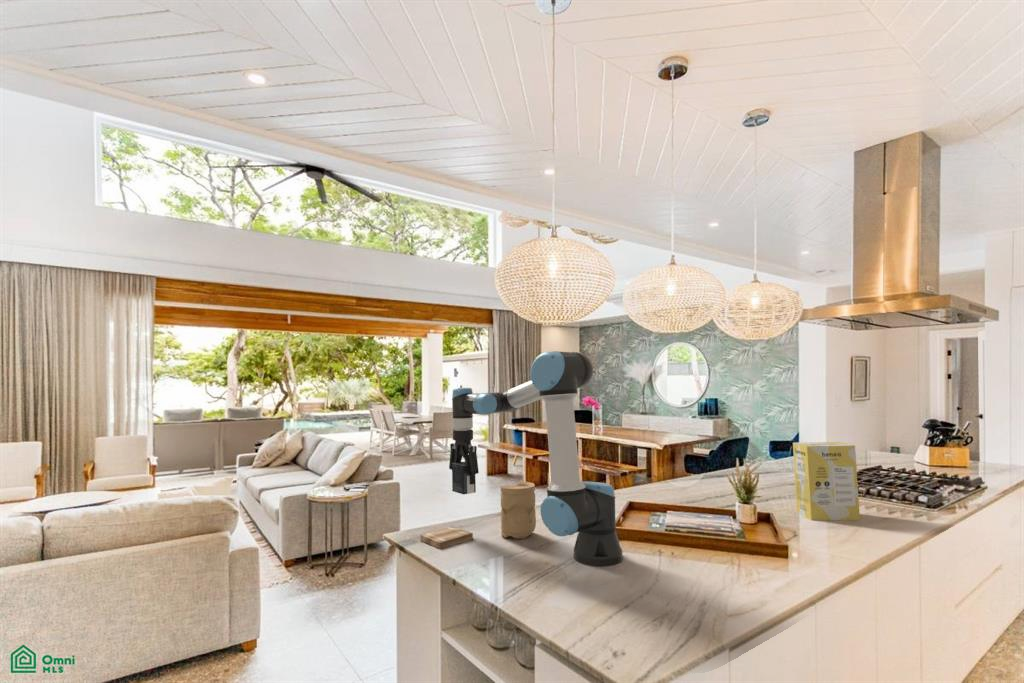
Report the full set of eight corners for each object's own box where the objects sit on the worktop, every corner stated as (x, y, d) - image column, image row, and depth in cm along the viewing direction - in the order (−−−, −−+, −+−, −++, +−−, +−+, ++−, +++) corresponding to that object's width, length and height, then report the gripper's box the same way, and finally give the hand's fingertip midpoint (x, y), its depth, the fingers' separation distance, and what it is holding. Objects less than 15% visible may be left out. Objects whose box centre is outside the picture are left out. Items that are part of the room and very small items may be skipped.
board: (472, 539, 179) (472, 532, 179) (440, 548, 169) (439, 542, 169) (452, 531, 187) (452, 526, 188) (420, 540, 178) (420, 534, 178)
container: (494, 535, 182) (493, 485, 183) (519, 528, 190) (518, 479, 192) (517, 543, 173) (516, 490, 174) (543, 535, 181) (542, 484, 182)
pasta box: (842, 512, 203) (838, 441, 204) (859, 519, 192) (855, 445, 194) (796, 512, 203) (792, 442, 205) (811, 520, 193) (806, 446, 195)
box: (476, 492, 185) (475, 463, 186) (462, 495, 182) (462, 465, 182) (464, 489, 191) (464, 460, 192) (451, 491, 188) (451, 462, 188)
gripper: (488, 430, 182) (489, 494, 181) (455, 426, 198) (456, 485, 197) (471, 432, 178) (472, 497, 176) (439, 428, 193) (439, 488, 192)
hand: (463, 491), depth 186 cm, fingers closed on box, 8 cm apart
